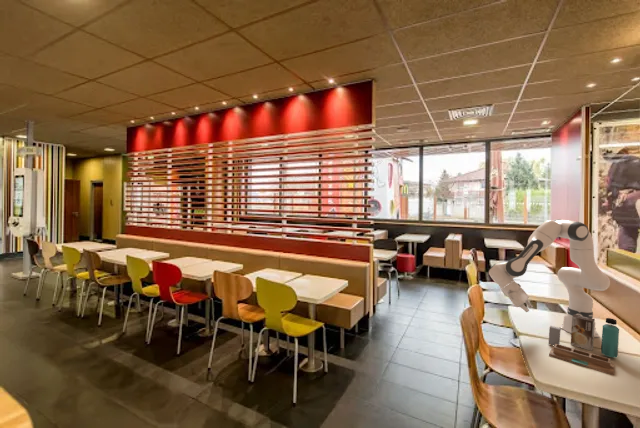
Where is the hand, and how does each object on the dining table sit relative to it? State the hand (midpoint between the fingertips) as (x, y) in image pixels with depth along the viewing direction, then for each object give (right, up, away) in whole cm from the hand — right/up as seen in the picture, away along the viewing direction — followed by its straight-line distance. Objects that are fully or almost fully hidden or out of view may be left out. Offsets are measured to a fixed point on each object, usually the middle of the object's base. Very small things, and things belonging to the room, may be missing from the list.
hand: (529, 309), depth 178 cm
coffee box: (+24, -18, -7) cm, 31 cm away
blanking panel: (+8, -17, -8) cm, 21 cm away
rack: (+9, -18, -24) cm, 31 cm away
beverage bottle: (+27, -19, -19) cm, 38 cm away
